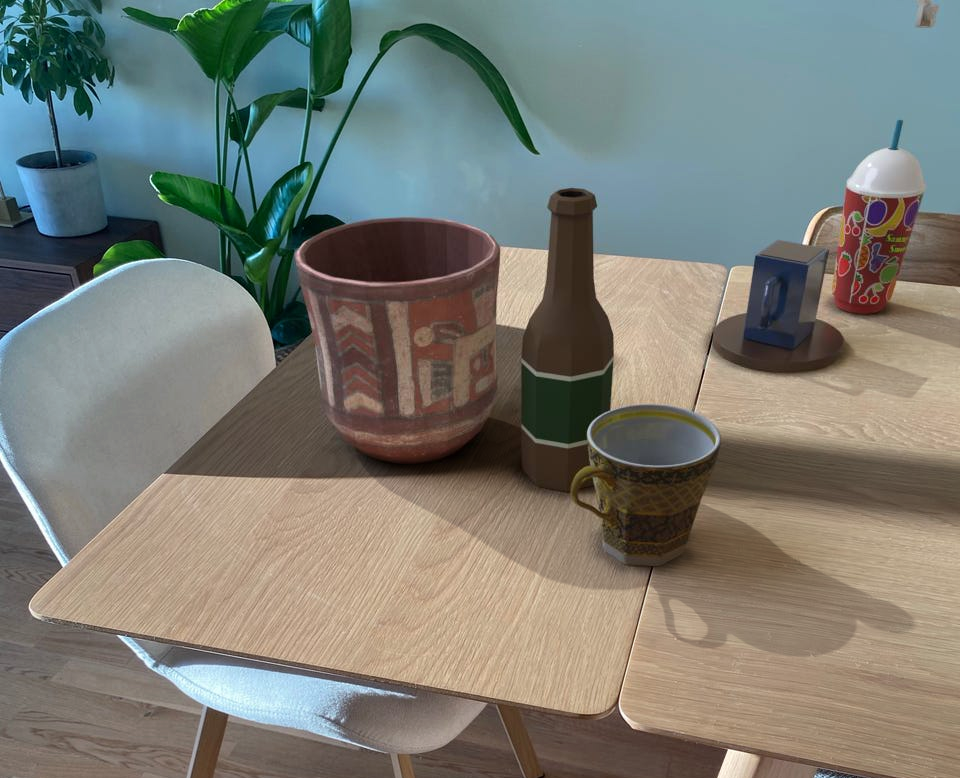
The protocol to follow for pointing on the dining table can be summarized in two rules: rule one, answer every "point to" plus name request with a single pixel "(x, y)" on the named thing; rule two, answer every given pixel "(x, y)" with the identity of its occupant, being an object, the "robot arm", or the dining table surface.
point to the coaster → (777, 348)
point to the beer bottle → (565, 351)
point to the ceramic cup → (648, 478)
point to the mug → (785, 293)
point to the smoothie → (876, 227)
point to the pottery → (404, 332)
